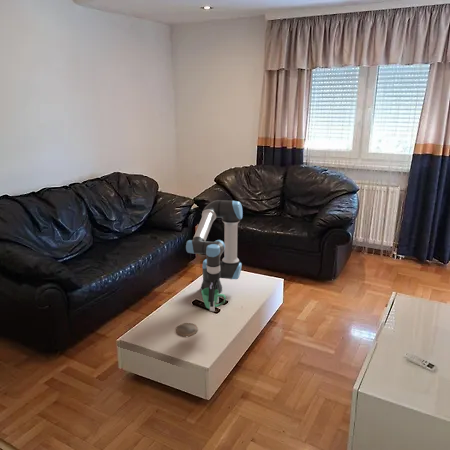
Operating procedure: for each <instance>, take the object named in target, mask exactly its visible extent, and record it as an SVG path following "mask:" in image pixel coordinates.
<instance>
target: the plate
mask: <svg viewBox="0 0 450 450" xmlns="http://www.w3.org/2000/svg"><path fill="white" fill-rule="evenodd" d="M198 331H199V328H198V326H197V324H195V323H192V322H183V323H181V324H178V325H177V326H176V328H175V334H177V336H180V337H185V338H186V336H188V337H192V336H194V335H196V334H197V333H198Z"/></svg>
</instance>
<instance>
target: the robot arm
mask: <svg viewBox="0 0 450 450" xmlns="http://www.w3.org/2000/svg"><path fill="white" fill-rule="evenodd" d="M243 212H244V211H243V206H242V203H241V202H240V201H237V200H221V199H217V200H214V201H211V202H210V203H208V204H207V205H206V206H205V207H204V208H203V210H202V213H201V219H200V221H199V223H198V226H197V228H196V231H195V234H194V236H193V238H192V239H189V240H187V241H186V243H185V244H186V245H185V250H186V252H187V254H196V255H197V254H198V255H206V256H205V257H206V258H205V259H204V260H203V261H202V282H201V285H200V292H201V291H202V290H203V289H205V288H209V298H208V302H210V309H209V312H215V311H216V309H215V308H216V307H215V305H216V304H220V303H219V302H220V297H217V301H216V304H215V301H214V294H215V290H216V289H217V290H218V294H221V292H223V285H222V282H221V280H220V279H224V280H225V279H226V280H239V278H240V276H241V273H242V265H243V263H242V262H240V259H239V258H238V224H239V223H240V222H241V220H242V219H243V216H244V215H243V214H244V213H243ZM217 218H219V219H221V221H222V223H223V224H224V241H223V240H221V239H217V240H215V241H207V238H208V235H209V233H210V231H211V228H212V225H213V223H214V221H215V220H216V219H217ZM222 254H224V257H223V258H222V259H221V256H222Z"/></svg>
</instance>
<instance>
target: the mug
mask: <svg viewBox="0 0 450 450" xmlns="http://www.w3.org/2000/svg"><path fill="white" fill-rule="evenodd" d="M200 292H201V297H202V300H203V303H204V306H205V308H206V309H208V310H210V302H208V298H209V288H205V289H203V290H202V291H201V290H200ZM217 297H219V298H222V299H223V301H222V302H220V303H216V301H217ZM214 301H215V308H216V307H217V308H219V307H222V305H224V304H225V303H226V294H224V293H219V294H218V290H217V289H216V290H215V294H214Z"/></svg>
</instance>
